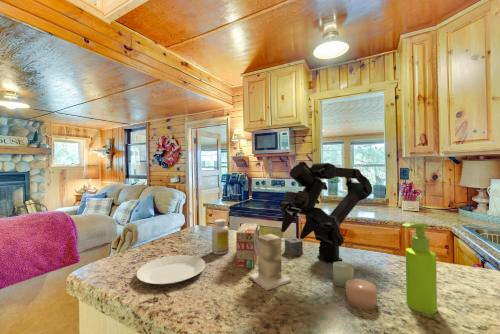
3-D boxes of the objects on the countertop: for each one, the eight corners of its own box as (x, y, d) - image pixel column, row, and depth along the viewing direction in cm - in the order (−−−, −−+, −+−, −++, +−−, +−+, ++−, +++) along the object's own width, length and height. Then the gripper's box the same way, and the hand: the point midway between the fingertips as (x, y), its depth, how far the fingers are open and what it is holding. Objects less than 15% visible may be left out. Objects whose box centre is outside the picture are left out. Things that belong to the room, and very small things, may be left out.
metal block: (271, 271, 72) (270, 233, 72) (281, 277, 68) (281, 237, 68) (258, 275, 70) (257, 236, 70) (268, 282, 65) (267, 240, 65)
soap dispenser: (396, 300, 57) (395, 220, 58) (422, 298, 58) (421, 219, 58) (415, 315, 52) (414, 226, 52) (443, 313, 52) (442, 225, 52)
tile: (272, 270, 75) (272, 267, 75) (291, 281, 67) (291, 278, 67) (249, 277, 70) (249, 274, 70) (266, 290, 63) (266, 287, 63)
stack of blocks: (246, 246, 99) (246, 218, 99) (260, 247, 98) (260, 218, 98) (236, 267, 77) (235, 231, 78) (254, 268, 77) (254, 232, 77)
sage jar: (343, 276, 70) (343, 260, 70) (358, 285, 65) (358, 267, 65) (329, 280, 68) (328, 263, 68) (343, 289, 63) (343, 271, 63)
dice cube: (302, 253, 89) (302, 241, 89) (291, 255, 87) (291, 242, 87) (295, 249, 94) (295, 237, 94) (284, 251, 92) (284, 239, 92)
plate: (175, 257, 88) (175, 251, 88) (218, 268, 77) (218, 262, 77) (122, 280, 70) (122, 272, 70) (167, 299, 59) (167, 291, 59)
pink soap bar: (360, 291, 62) (360, 277, 62) (383, 306, 55) (383, 289, 55) (340, 297, 59) (339, 282, 59) (362, 313, 53) (362, 295, 53)
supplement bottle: (232, 251, 93) (231, 219, 93) (221, 256, 87) (221, 223, 87) (219, 248, 96) (219, 217, 96) (208, 253, 91) (208, 221, 91)
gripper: (278, 180, 84) (258, 218, 79) (317, 182, 67) (294, 229, 63) (297, 196, 88) (279, 233, 83) (338, 201, 72) (318, 247, 67)
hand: (291, 235), depth 74 cm, fingers open, 9 cm apart
